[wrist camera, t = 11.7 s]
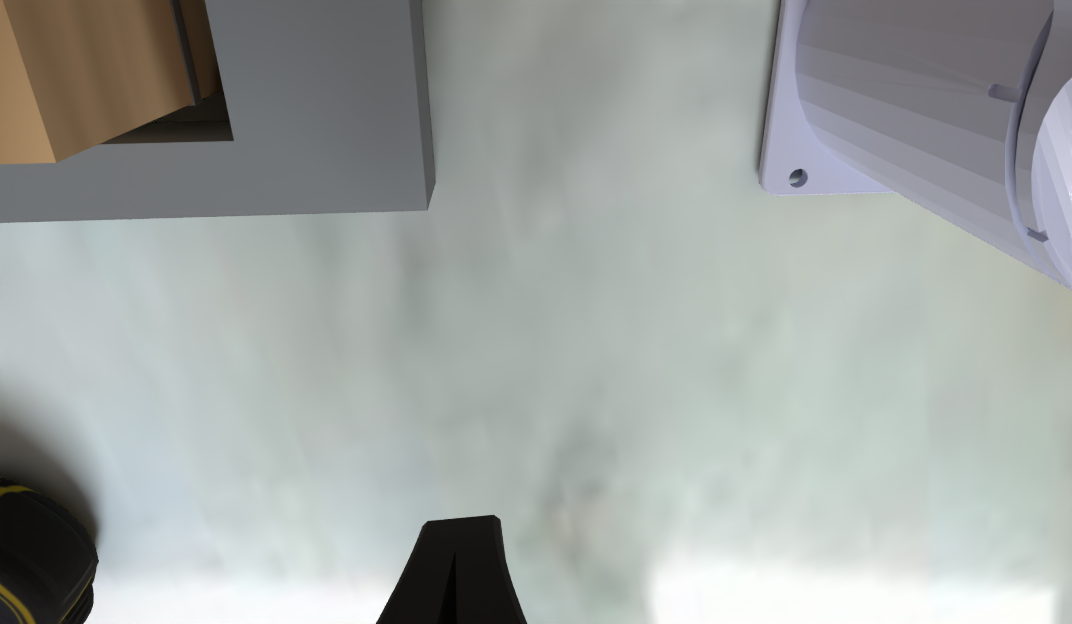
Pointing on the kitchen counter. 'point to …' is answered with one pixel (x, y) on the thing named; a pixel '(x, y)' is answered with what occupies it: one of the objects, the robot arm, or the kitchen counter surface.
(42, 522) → the tape measure
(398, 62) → the hole board
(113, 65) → the oak peg
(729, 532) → the kitchen counter surface
